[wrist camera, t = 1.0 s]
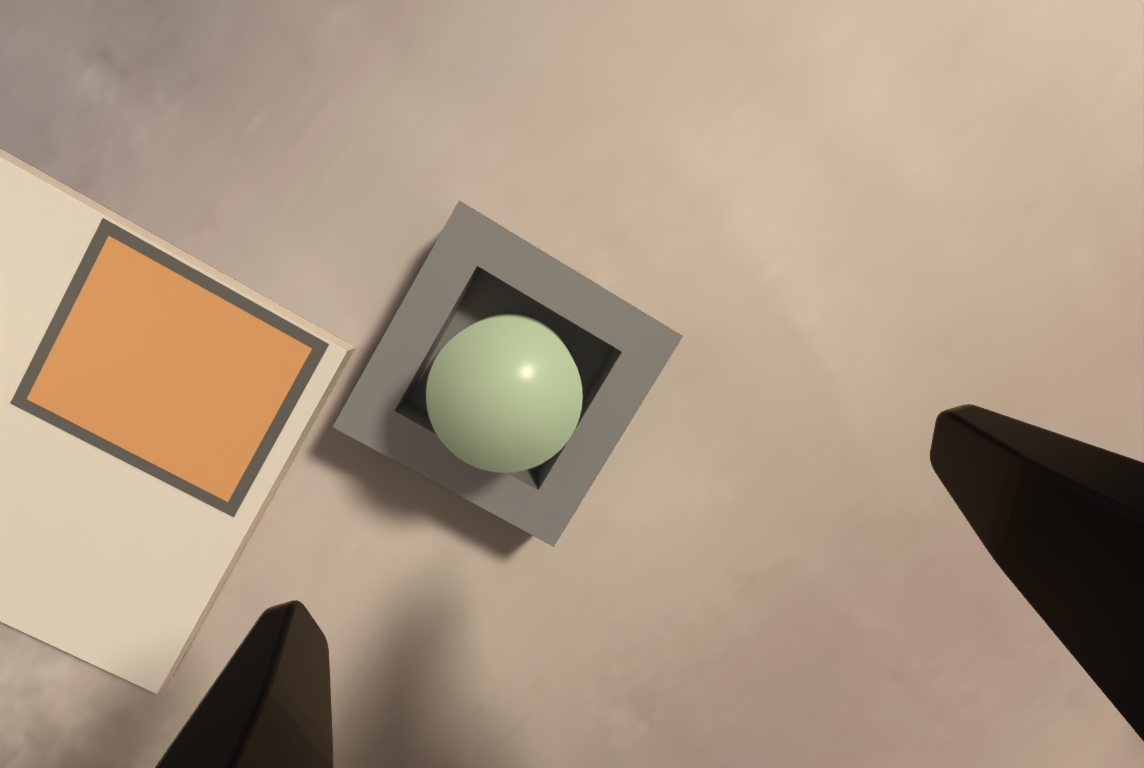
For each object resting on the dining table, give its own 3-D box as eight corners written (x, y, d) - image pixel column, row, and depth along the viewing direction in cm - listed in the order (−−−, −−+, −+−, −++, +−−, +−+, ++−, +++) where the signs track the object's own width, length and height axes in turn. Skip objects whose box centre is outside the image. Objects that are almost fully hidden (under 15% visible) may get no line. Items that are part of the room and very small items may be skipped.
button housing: (551, 519, 24) (553, 546, 21) (354, 411, 23) (332, 427, 20) (666, 330, 23) (682, 336, 21) (467, 209, 22) (459, 200, 20)
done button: (532, 464, 22) (532, 499, 18) (420, 401, 21) (397, 425, 18) (597, 355, 21) (611, 369, 18) (485, 288, 21) (474, 289, 17)
